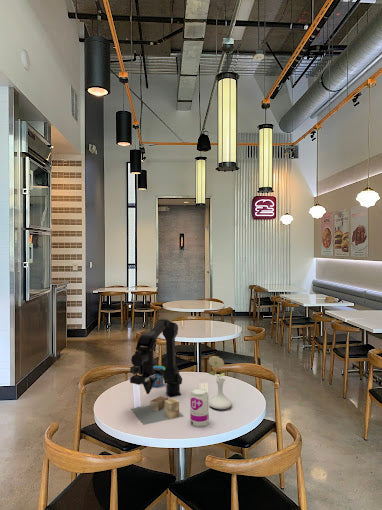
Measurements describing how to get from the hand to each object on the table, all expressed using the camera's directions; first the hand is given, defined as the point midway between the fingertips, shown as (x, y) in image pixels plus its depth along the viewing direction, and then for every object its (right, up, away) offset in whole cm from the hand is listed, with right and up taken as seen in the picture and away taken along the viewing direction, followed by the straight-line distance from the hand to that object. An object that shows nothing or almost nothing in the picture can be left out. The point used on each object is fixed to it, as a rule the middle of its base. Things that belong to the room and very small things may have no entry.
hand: (147, 393), depth 183 cm
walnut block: (+3, -7, +4) cm, 9 cm away
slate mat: (+4, -10, +1) cm, 11 cm away
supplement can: (+24, -10, -11) cm, 29 cm away
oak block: (+12, -9, -3) cm, 15 cm away
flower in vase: (+35, -10, +9) cm, 37 cm away
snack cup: (0, -10, +42) cm, 43 cm away
